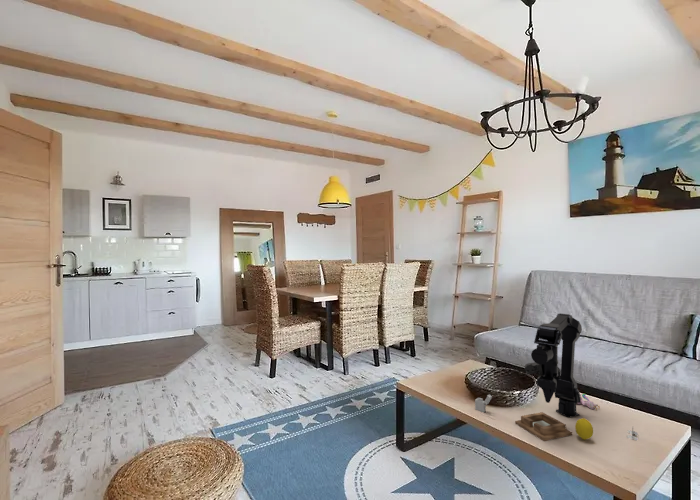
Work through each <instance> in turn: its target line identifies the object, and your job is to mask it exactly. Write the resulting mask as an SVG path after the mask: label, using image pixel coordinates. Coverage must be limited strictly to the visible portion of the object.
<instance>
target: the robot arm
mask: <svg viewBox="0 0 700 500" xmlns="http://www.w3.org/2000/svg"><path fill="white" fill-rule="evenodd" d="M582 327H583V326H582V324H581V322H580V321H579V320H578V319H575V318H574V317H573V316H572V314H568V313H557V315H556V317H555V318H554V319H552V321H550V322H549V323H541V324H540V325H539V326H538V327H537V330H536V333H535V336H534V337H535V338H534V341H533V343H534V344H537V345H536V348H534V349H533V350H532V351H531V353H530V354H531V356H530V357H531V359H532V361H533V362H530V363H529V362H528V363H526V364H525V365H524V366H523V367H524V372H526V375H528V376H529V375H532V374H538V375H539V376H538V377H537V378H536V386H537V387H538V388H540V389H541V390H542V392H543V397H544V400H545V403H548V404H549V403H550V402H551V400H552V398H553V395H554V398H556V399H558V402H557V403H558V409H555V412H557V413H559V414H560V415H562V416H565V417H567V418H573V417H579V416H580V413H578V412H577V403H581V397H582V396H581V393H580V391H579V389H578V383H577V381H576V380H575V379H576V378H574V371H575V370H574V366H575V365H574V364H575V350H576V349H575V348H576V346H575V345H576V342H577V341H578V340H579V339H580V337H581V334H582V332H583V331H582V330H583V329H582ZM561 341H562V347H561V361H560V362H561V363H560V367H561V368H560V367H559V366H558V364H559V360H558V358H559V357H558V353H559V352H558V350H559V349H558V348H559V347H558V346H560V343H561ZM581 404H582V403H581Z"/></svg>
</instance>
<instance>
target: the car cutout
mask: <svg viewBox="0 0 700 500" xmlns="http://www.w3.org/2000/svg"><path fill="white" fill-rule="evenodd" d="M627 433H628V434H627V435H626V439H629V438H630V439H629V440H633V439H634V441H637V440H638V441H639V438H638V436H639V432H637V431H634V427H632V430H630V429H628V430H627ZM629 433H630V434H631V435H630V434H629ZM633 434H635V435H633ZM637 435H638V436H637Z"/></svg>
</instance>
